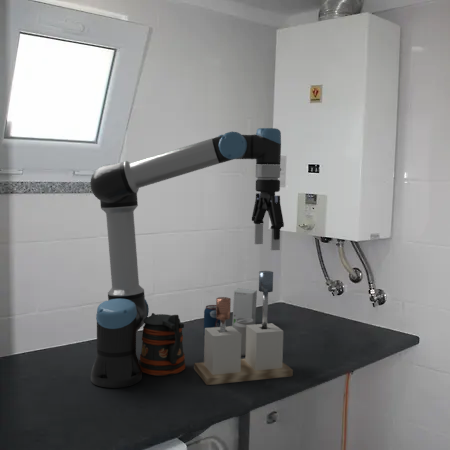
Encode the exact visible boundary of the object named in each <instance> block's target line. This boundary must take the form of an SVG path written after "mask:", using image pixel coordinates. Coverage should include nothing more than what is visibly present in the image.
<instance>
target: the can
mask: <svg viewBox="0 0 450 450" xmlns="http://www.w3.org/2000/svg"><path fill="white" fill-rule="evenodd" d="M255 324H256V323H255ZM255 324H254V322H253V319H250V318H238V319H236V322H235V323H234V328H235V329H236V330H237V331H238V332H240V333H241V357H246V325H255Z"/></svg>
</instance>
